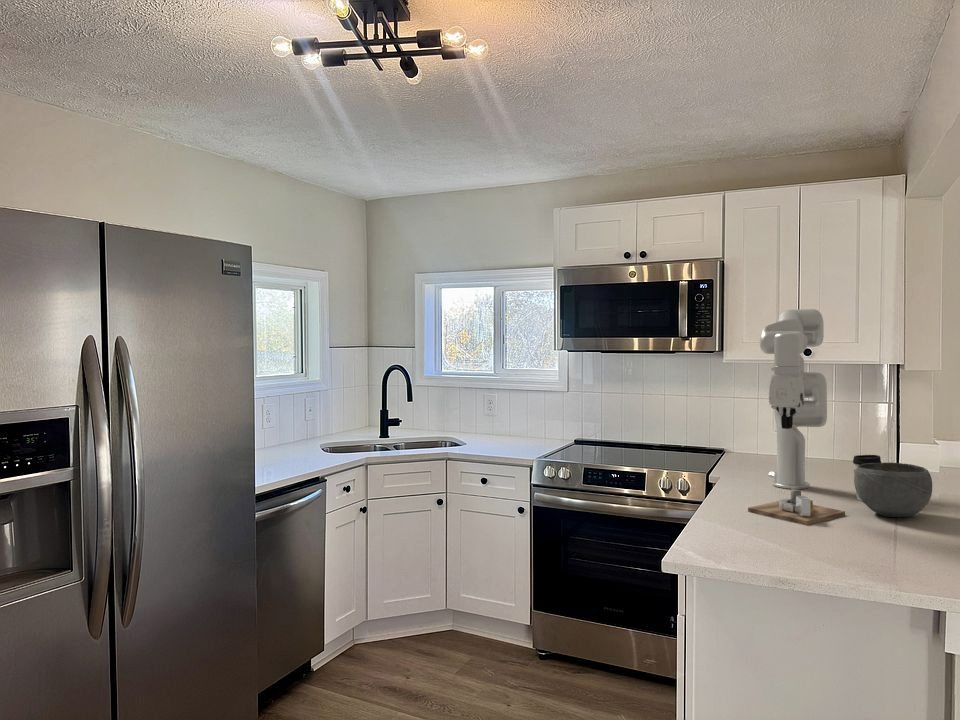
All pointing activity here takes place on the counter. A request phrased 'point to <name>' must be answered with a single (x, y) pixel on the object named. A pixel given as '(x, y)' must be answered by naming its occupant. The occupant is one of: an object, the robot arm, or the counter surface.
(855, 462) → the coffee cup
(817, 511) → the post base
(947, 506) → the counter surface
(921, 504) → the bowl
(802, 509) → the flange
